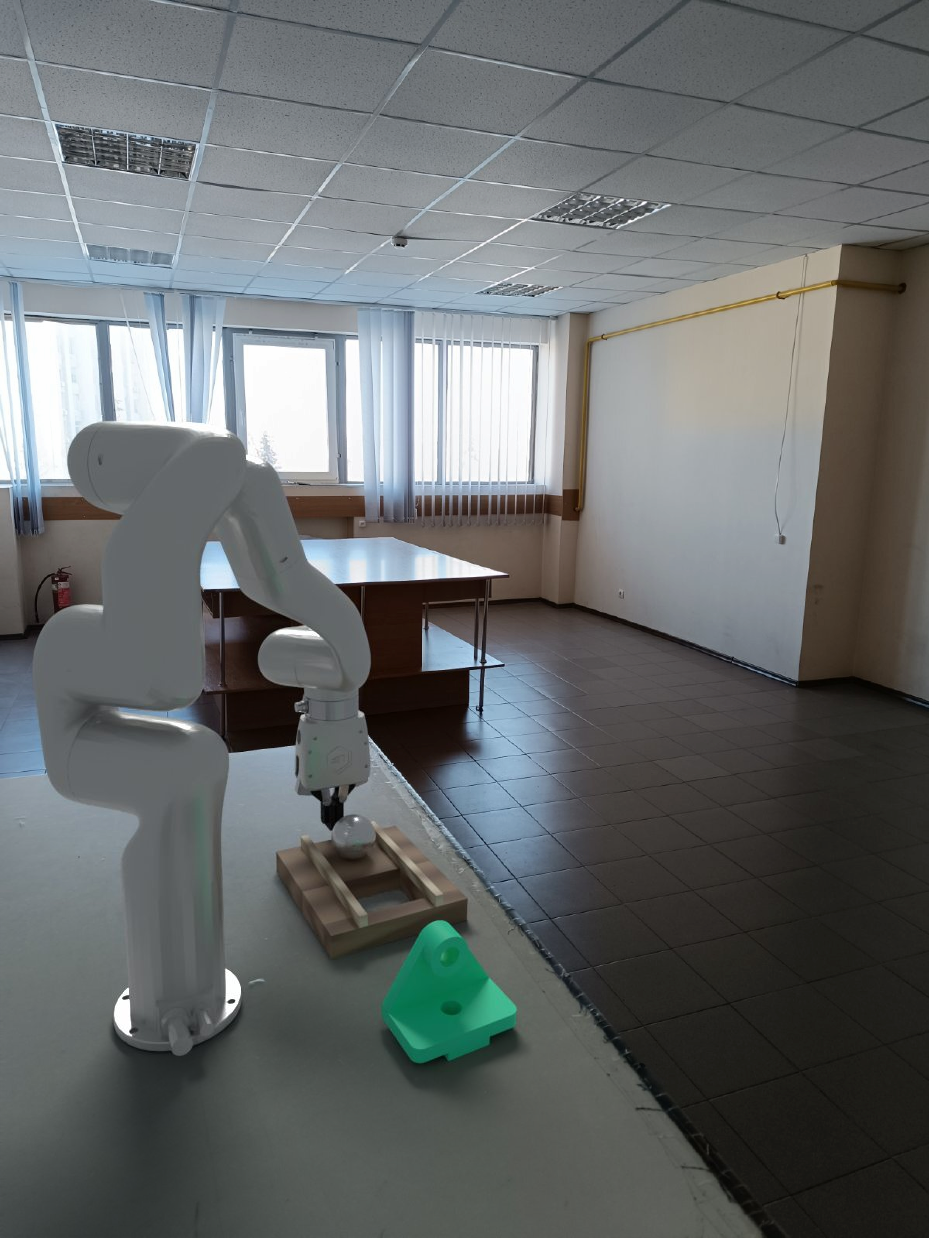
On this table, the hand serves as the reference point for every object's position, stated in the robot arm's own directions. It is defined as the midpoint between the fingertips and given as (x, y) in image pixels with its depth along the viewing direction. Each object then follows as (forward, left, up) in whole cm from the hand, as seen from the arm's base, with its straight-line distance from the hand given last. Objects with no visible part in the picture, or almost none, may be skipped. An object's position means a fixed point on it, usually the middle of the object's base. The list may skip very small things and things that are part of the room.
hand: (332, 825), depth 118 cm
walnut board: (-14, 0, -4) cm, 14 cm away
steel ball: (-9, 0, +2) cm, 9 cm away
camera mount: (-41, +2, -4) cm, 41 cm away
